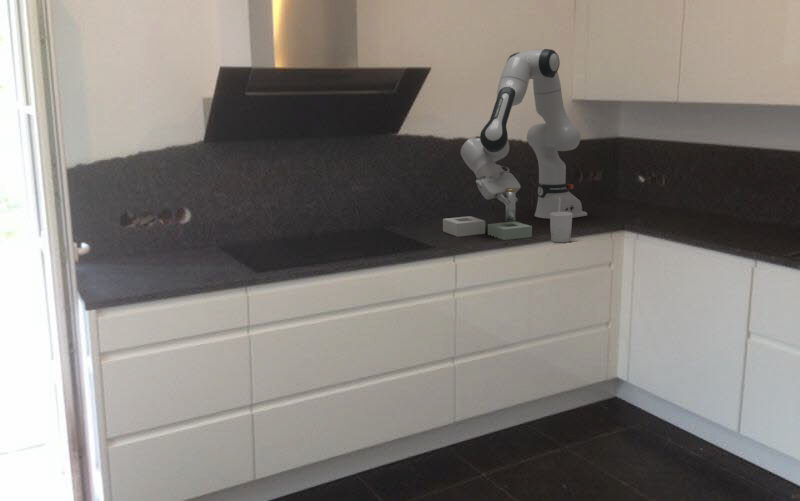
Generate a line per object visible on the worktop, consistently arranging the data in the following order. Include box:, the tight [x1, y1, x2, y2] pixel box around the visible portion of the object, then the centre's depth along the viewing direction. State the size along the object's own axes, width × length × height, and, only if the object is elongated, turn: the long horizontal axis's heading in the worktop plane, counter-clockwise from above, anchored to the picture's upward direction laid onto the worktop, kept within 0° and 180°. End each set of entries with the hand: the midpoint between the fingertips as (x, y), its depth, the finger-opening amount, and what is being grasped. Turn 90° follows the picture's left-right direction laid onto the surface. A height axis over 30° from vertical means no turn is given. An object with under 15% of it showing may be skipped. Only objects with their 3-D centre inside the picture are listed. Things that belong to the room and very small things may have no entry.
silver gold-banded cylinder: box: [505, 188, 516, 222], centre depth 278 cm, size 4×4×12 cm
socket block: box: [487, 220, 533, 241], centre depth 280 cm, size 12×12×4 cm
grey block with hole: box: [442, 215, 486, 238], centre depth 288 cm, size 12×12×5 cm
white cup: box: [549, 212, 573, 244], centre depth 268 cm, size 8×8×10 cm
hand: (512, 203), depth 277 cm, fingers closed on silver gold-banded cylinder, 4 cm apart
